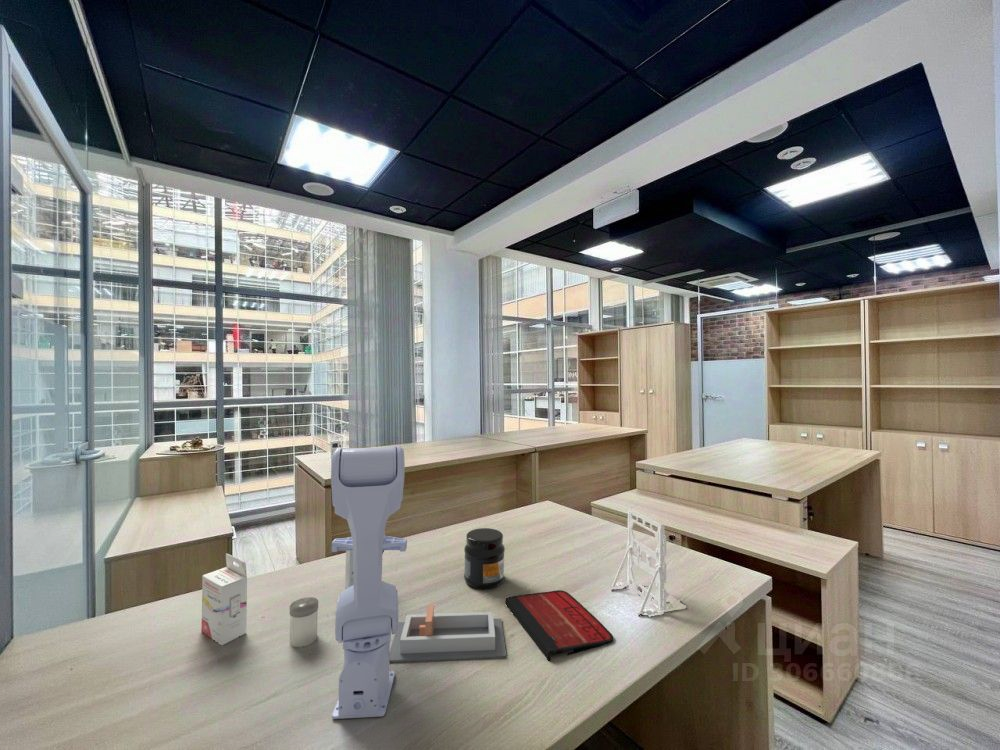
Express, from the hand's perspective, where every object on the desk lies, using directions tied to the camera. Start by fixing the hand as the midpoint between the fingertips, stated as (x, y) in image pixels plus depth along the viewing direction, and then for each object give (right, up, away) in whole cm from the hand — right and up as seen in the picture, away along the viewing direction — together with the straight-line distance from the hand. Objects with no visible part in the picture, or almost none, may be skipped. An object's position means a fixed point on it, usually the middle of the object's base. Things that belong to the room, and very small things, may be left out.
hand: (369, 585), depth 83 cm
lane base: (+16, -11, 0) cm, 19 cm away
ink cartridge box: (-30, -10, +1) cm, 32 cm away
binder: (+39, -12, +6) cm, 41 cm away
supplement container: (+22, -11, +24) cm, 35 cm away
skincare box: (-8, -11, +19) cm, 23 cm away
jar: (-13, -10, -1) cm, 17 cm away
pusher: (+12, -10, -1) cm, 15 cm away
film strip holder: (+62, -12, +16) cm, 65 cm away
